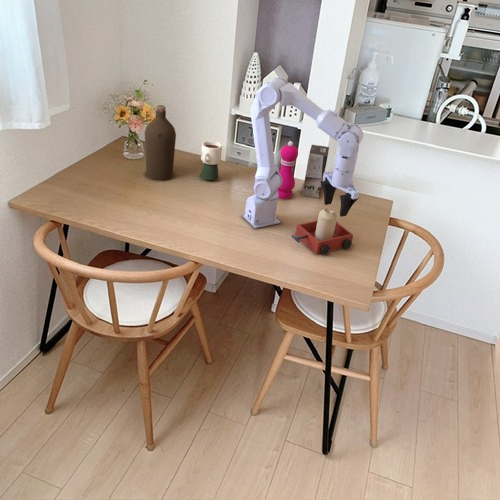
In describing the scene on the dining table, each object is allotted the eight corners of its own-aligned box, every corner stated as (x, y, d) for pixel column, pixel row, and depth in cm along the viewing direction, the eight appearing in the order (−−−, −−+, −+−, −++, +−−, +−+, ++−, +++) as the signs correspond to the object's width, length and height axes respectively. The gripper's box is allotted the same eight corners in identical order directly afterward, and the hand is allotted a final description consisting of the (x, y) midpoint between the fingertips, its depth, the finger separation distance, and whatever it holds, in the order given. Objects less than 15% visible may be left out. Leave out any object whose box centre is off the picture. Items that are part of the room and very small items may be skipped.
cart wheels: (305, 259, 154) (307, 249, 152) (281, 236, 164) (282, 226, 162) (350, 248, 162) (353, 238, 160) (324, 226, 172) (326, 217, 170)
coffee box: (319, 198, 189) (327, 156, 180) (301, 195, 189) (309, 152, 181) (321, 187, 196) (329, 146, 188) (304, 184, 197) (311, 143, 188)
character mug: (207, 170, 198) (209, 137, 191) (224, 175, 196) (227, 142, 189) (193, 181, 190) (195, 146, 183) (211, 186, 188) (214, 151, 181)
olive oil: (180, 178, 191) (182, 109, 177) (153, 183, 185) (154, 113, 171) (165, 166, 197) (166, 100, 184) (139, 171, 191) (138, 103, 178)
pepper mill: (269, 196, 186) (277, 142, 175) (276, 188, 192) (284, 135, 181) (289, 201, 184) (298, 147, 173) (295, 193, 190) (304, 140, 179)
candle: (335, 239, 164) (342, 211, 159) (325, 245, 161) (331, 216, 155) (321, 232, 167) (327, 204, 162) (310, 237, 164) (316, 209, 158)
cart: (316, 254, 157) (318, 242, 155) (295, 235, 165) (297, 224, 163) (350, 245, 163) (353, 234, 161) (328, 228, 171) (331, 217, 169)
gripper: (371, 176, 149) (360, 219, 156) (339, 156, 159) (331, 197, 167) (352, 180, 146) (342, 223, 153) (320, 159, 156) (313, 200, 163)
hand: (335, 209), depth 160 cm, fingers open, 7 cm apart
